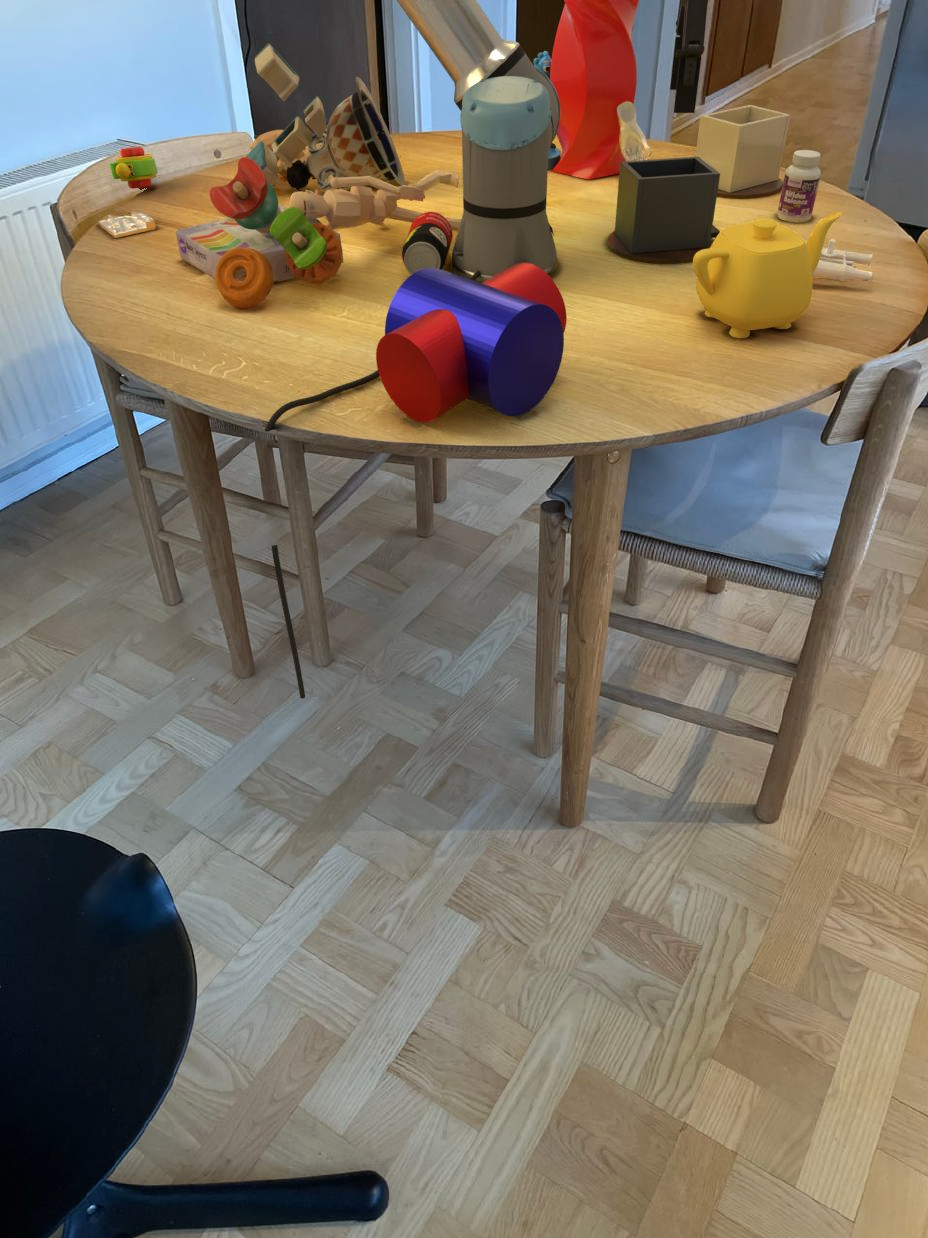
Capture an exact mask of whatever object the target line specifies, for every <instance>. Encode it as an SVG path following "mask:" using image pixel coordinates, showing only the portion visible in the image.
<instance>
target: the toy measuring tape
mask: <svg viewBox="0 0 928 1238" xmlns="http://www.w3.org/2000/svg"><path fill="white" fill-rule="evenodd" d="M119 153H120V156H119V157H116V158H115V162H110V163H109V167H110V171H111V175H112V178H113V180H120V181H121V182H123V183H124V182H125V183H126V182H127V186H128V188H130V189H144V188H149V187H151V186H152V180H151V179H155V178H157V174H158V168H157V165H156V161H155V157H153V155H152V154H150V153H145V150H144V148H143V147H142V146H135V147H127V148H121V149H120V152H119Z"/></svg>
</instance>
